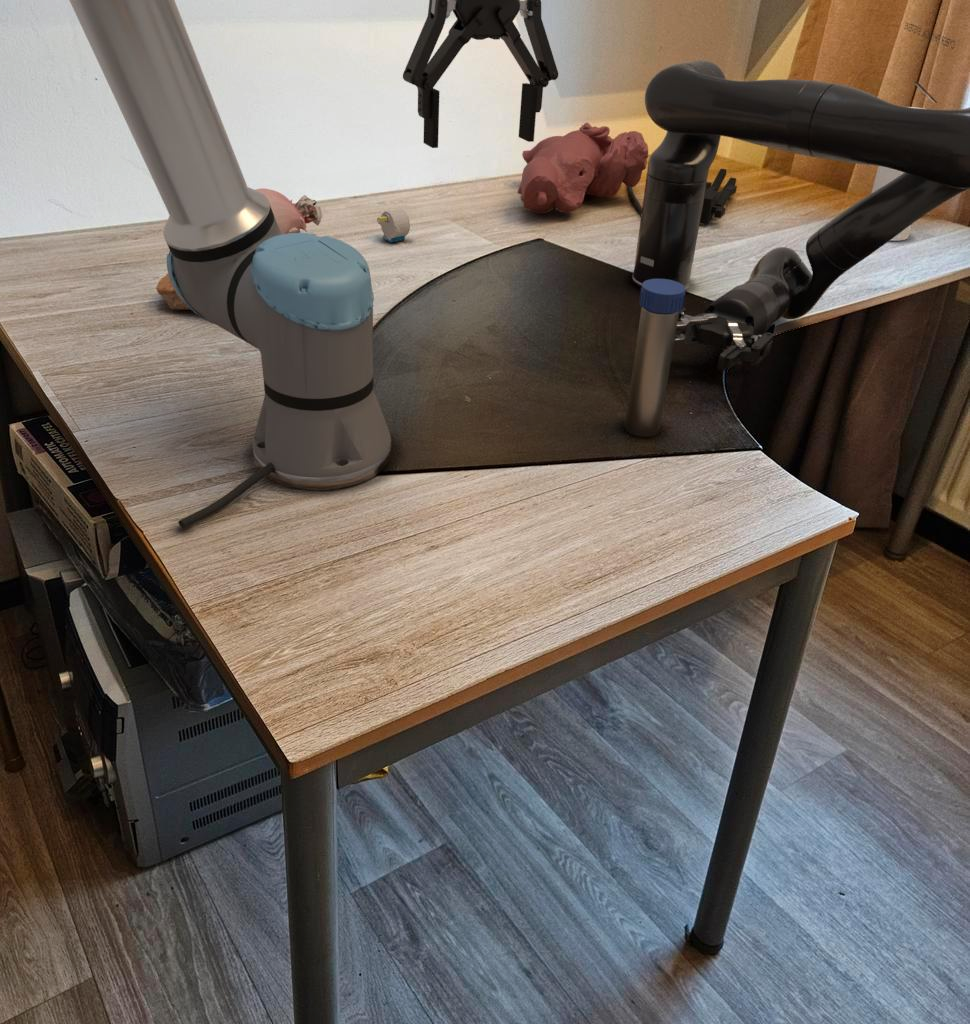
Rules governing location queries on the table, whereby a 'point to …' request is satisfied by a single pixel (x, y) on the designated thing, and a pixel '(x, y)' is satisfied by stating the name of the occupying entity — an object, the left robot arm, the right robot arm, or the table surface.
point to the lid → (662, 296)
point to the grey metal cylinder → (650, 372)
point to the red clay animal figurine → (580, 168)
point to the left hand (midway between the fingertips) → (479, 142)
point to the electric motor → (394, 225)
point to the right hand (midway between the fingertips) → (689, 353)
